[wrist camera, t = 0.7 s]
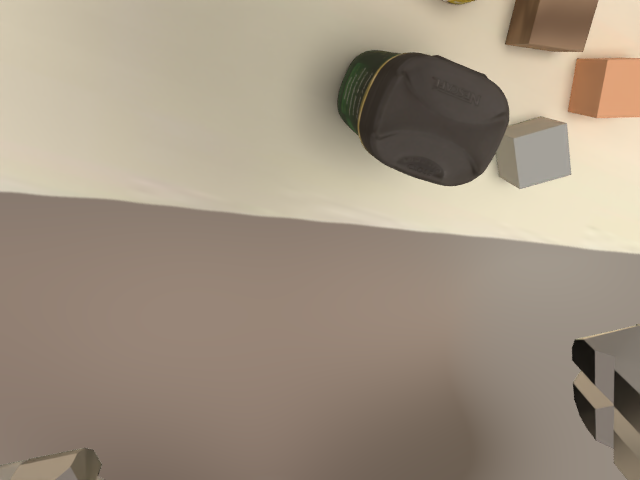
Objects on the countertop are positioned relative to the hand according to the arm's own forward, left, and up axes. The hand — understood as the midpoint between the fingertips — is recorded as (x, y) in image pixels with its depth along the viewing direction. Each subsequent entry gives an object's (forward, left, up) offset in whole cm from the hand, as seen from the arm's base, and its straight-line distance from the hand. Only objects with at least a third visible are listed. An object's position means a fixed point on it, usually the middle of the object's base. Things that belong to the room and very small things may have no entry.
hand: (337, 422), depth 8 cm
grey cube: (+4, +23, -42) cm, 48 cm away
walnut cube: (-8, +23, -42) cm, 49 cm away
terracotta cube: (-2, +30, -42) cm, 52 cm away
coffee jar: (-1, +9, -43) cm, 44 cm away
